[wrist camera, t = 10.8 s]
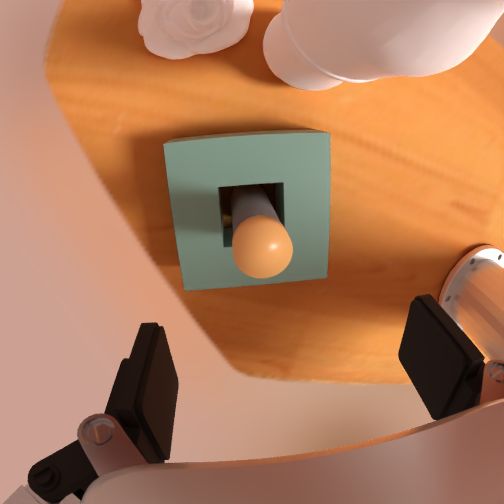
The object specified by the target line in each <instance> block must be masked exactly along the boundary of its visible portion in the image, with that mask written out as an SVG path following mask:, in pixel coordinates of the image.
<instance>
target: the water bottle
mask: <svg viewBox="0 0 504 504" xmlns="http://www.w3.org/2000/svg"><path fill="white" fill-rule="evenodd" d="M503 12H504V0H284V1H283V5H282V11H281V12H280V13H278V14H277V15H276V16H275V17H274V18H273V19H272V20H271V22H270V24H269V26H268V27H267V29H266V32H265V35H264V39H263V52H264V57H265V60H266V62H267V64H268V66H269V68H270V69H271V71H272V72H273V73H274V75H276V76H277V77H278V78H280V79H281V80H283V81H284V82H286V83H287V84H288V85H290V86H291V87H294V88H297V89H301V90H308V91H318V90H325V89H329V88H332V87H334V86H336V85H339V84H340V83H342V82H343V81H345V82H353V83H362V82H368V81H373V80H376V79H379V78H386V77H394V76H409V77H422V76H429V75H433V74H438V73H441V72H443V71H446V70H448V69H450V68H452V67H455V66H457V65H458V64H459V63H461V62H462V61H464V60H465V59H466V58H467V57H469V56H470V55H471V54H472V53H473V52H474V51H475V49H476V48H477V47H478V46H479V45H480V44H481V42H482V41H483V40H484V39H485V38H486V36H487V35H488V33H489V32H490V30H491V29H492V27H493V26H494V24H495V23H496V21H497V20H498V19H499V17H500V16H501V15H502V14H503Z"/></svg>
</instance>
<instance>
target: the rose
mask: <svg viewBox="0 0 504 504" xmlns="http://www.w3.org/2000/svg"><path fill="white" fill-rule="evenodd" d="M141 4H142V10H141V12H140V15H139V19H138V31H139V34H140V35H141V36H143V38H144V43H145V46H146V48H147V49H148V50H149V51H150V52H152V53H153V54H155V55H158V56H161V57H164V58H167V59H173V60H175V59H184V58H188V57H191V56H193V55H196V54H207V53H214V52H217V51H220V50H223V49H225V48H228V47H230V46H232V45H234V44H236V43H237V42H238V41H240V40H241V39H242V38H243V37H244V36H245V34H246V33H247V31H248V28H249V23H250V18H251V15H252V12H253V9H254V4H253V1H252V0H141Z"/></svg>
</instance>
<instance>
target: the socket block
mask: <svg viewBox="0 0 504 504" xmlns="http://www.w3.org/2000/svg"><path fill="white" fill-rule="evenodd" d="M163 145H164V154H165V163H166V172H167V180H168V188H169V195H170V203H171V210H172V217H173V224H174V230H175V237H176V243H177V250H178V256H179V262H180V267H181V273H182V279H183V284H184V290H185V291H192V290H205V289H217V288H229V287H241V286H252V285H263V284H274V283H284V282H294V281H304V280H314V279H323V278H327V272H328V253H329V228H330V179H331V155H330V133H329V132H324V131H320V130H315V129H297V130H268V131H249V132H235V133H222V134H211V135H201V136H191V137H183V138H174V139H171V140H170V141H168V142H166V143H164V144H163ZM263 183H275V194H276V214H277V216H278V218H279V220H280V222H281V223H282V225H283V226H284V227H285V229H286V231H287V233H288V235H289V237H290V239H291V242H292V245H293V254H292V258H291V260H290V262H289V264H288V266H287V267H286V268H285V269H284V270H283V271H282V272H280V273H279V274H277V275H275V276H273V277H269V278H253V277H250V276H248V275H246V274H245V273H243V272H242V271H241V270H240V269H239V268H238V267H237V265H236V263H235V261H234V257H233V246H232V239H233V227H223V216H222V205H221V194H220V187H224V186H236V185H249V184H263Z"/></svg>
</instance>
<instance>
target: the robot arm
mask: <svg viewBox="0 0 504 504" xmlns="http://www.w3.org/2000/svg"><path fill="white" fill-rule="evenodd" d="M462 330H465V331H466V332H467V333H468V334H469V336H470V337H471V338H472V339H473V340H474V341H475V343H476V344H477V345H478V346H479V347H480V348H481V350H482V351H483V352H484V353H485V354H486V356H487V357H488V358H489V359H490V361H488V362H487V363H486V364H485V363H484V362H483V360H484V358H485V357H484V356H483V355H482V353H481V352H480V351H479V350H478V348H477V347H476V346H475V345H474V344H473V342H472V341H471V340H470V339H469V338H468V336H467V335H466V334H465V333H464V332H463V331H462ZM398 356H399V360H400V362H401V364H402V365H403V367H404V369H405V371H406V372H407V374H408V376H409V378H410V379H411V381H412V383H413V385H414V386H415V388H416V390H417V392H418V393H419V395H420V397H421V398H422V401H423V402H424V404H425V406H426V408H427V409H428V411H429V413H430V415H431V417H432V418H433V419H434V420H437V421H434V422H431V423H428V424H426V425H423V426H419V427H416V428H413V429H410V430H407V431H403V432H400V433H396V434H392V435H389V436H385V437H382V438H377V439H373V440H369V441H365V442H361V443H357V444H352V445H348V446H343V447H338V448H333V449H328V450H322V451H316V452H310V453H303V454H296V455H289V456H281V457H273V458H263V459H252V460H237V461H220V462H185V463H164V462H165V460H169V458H170V451H171V442H172V433H173V425H174V417H175V409H176V401H177V394H178V377H177V373H176V370H175V367H174V363H173V360H172V356H171V353H170V349H169V345H168V342H167V338H166V334H165V331H164V328H163V326H159V325H158V323H142V324H141V325H140V328H139V331H138V334H137V337H136V340H135V343H134V346H133V348H132V352H131V355H130V357H129V359H127V358H124V359H123V360H122V362H121V364H120V367H119V370H118V373H117V376H116V379H115V382H114V385H113V388H112V391H111V394H110V397H109V400H108V403H107V406H106V410H105V413H104V414H102V413H101V414H94V415H91V416H89V417H87V418H86V419H84V420H83V422H82V423H81V424H80V425H79V428H78V432H77V436H78V440H76V441H74V442H73V443H71V444H69V445H68V446H66V447H64V448H63V449H60V450H59V451H57V452H55V453H53V454H52V455H50V456H48V457H46V458H45V459H43V460H41V461H39V462H37V463H36V464H35V465H33V466H32V468H31V469H30V471H29V474H28V484H27V485H26V486H25V487H23V486H22V485H21V486H20V487H19V488H18V489H17V490H16V491H15V492H14V493H13V494H12V495H11V496H10V497H9V498H8V499H7V500H6V501H5V502H4V503H3V504H504V253H503V252H502V251H500V250H499V249H498V248H496V247H494V246H491V245H483V246H480V247H477V248H475V249H473V250H472V251H470V252H469V253H467V254H466V255H465V256H464V257H463V258H462V259H461V260H460V261H459V262H458V263H457V264H456V265H455V267H454V268H453V269H452V271H451V272H450V274H449V275H448V277H447V279H446V281H445V283H444V285H443V287H442V290H441V293H440V297H439V302H437V301H436V300H435V299H434V298H433V297H432V296H431V295H429V294H427V295H421V296H417V297H415V299H414V300H413V301H412V302H411V305H410V309H409V314H408V318H407V322H406V326H405V330H404V334H403V338H402V341H401V345H400V349H399V353H398Z"/></svg>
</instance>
